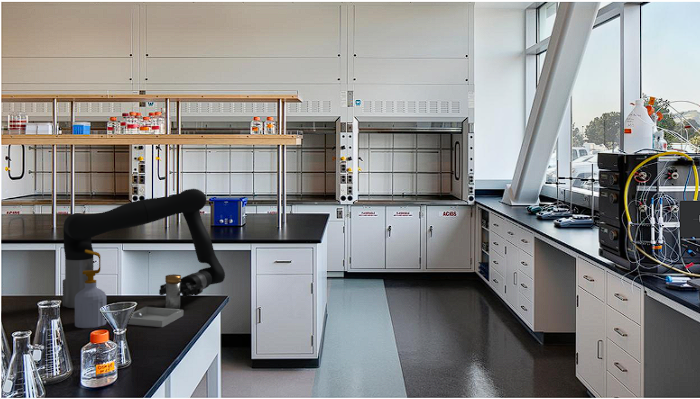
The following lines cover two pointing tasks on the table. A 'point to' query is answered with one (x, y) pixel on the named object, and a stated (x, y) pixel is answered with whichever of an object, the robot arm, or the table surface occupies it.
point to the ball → (138, 315)
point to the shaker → (173, 291)
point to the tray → (156, 316)
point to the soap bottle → (90, 301)
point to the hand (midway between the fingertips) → (171, 293)
